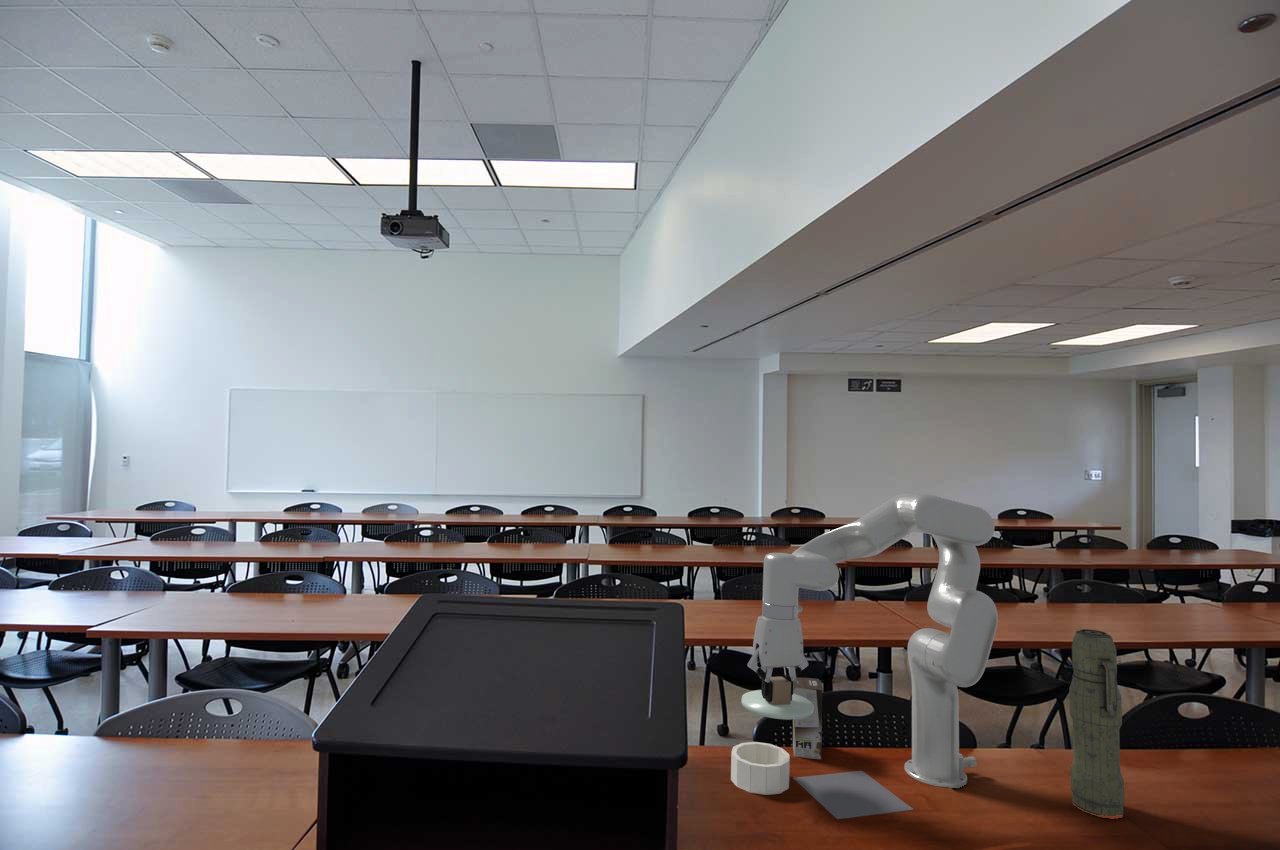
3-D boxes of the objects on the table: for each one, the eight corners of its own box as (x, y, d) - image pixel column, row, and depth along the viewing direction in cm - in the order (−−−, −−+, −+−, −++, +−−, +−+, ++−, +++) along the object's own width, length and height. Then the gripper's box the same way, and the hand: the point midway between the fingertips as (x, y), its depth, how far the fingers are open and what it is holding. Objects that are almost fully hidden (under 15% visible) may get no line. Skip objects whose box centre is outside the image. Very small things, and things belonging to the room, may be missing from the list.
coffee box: (822, 762, 149) (822, 690, 150) (793, 758, 150) (794, 687, 151) (819, 746, 158) (820, 678, 159) (792, 743, 159) (793, 675, 160)
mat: (862, 773, 144) (862, 770, 144) (913, 812, 127) (913, 809, 127) (792, 780, 139) (793, 777, 139) (837, 822, 123) (837, 818, 123)
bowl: (772, 768, 145) (772, 740, 145) (799, 793, 133) (799, 763, 134) (722, 772, 142) (723, 744, 142) (746, 799, 130) (746, 768, 131)
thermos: (1097, 794, 137) (1093, 625, 140) (1141, 824, 125) (1136, 639, 128) (1056, 793, 137) (1053, 624, 140) (1096, 823, 125) (1092, 638, 128)
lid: (790, 693, 147) (791, 668, 148) (827, 717, 133) (828, 689, 133) (730, 696, 143) (731, 670, 143) (761, 721, 129) (762, 693, 129)
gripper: (805, 607, 145) (802, 691, 144) (736, 608, 141) (733, 695, 139) (823, 615, 138) (821, 703, 137) (752, 615, 134) (749, 707, 132)
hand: (777, 698), depth 138 cm, fingers closed on lid, 4 cm apart
